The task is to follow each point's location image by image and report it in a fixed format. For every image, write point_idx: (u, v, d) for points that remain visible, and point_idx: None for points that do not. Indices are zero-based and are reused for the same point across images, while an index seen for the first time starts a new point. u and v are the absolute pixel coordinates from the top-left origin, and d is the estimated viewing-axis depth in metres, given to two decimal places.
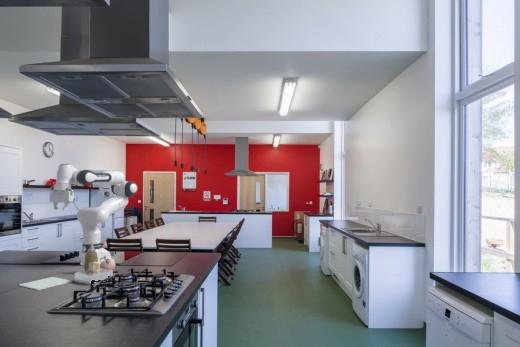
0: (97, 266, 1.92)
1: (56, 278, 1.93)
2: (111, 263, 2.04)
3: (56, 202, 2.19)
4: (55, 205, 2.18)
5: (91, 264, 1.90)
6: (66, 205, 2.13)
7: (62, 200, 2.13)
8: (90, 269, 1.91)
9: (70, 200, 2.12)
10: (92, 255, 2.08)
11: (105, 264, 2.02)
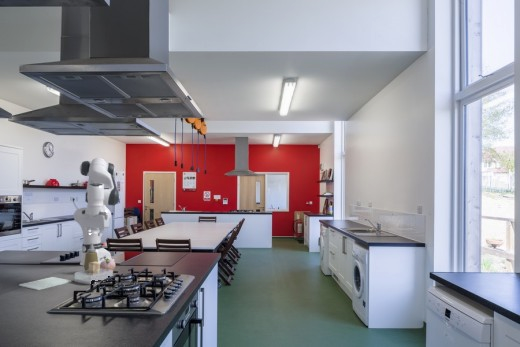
0: (97, 266, 1.92)
1: (56, 278, 1.93)
2: (111, 263, 2.04)
3: (89, 227, 1.96)
4: (88, 230, 1.95)
5: (91, 264, 1.90)
6: (101, 231, 1.90)
7: (96, 226, 1.90)
8: (90, 269, 1.91)
9: (106, 225, 1.88)
10: (92, 255, 2.08)
11: (105, 264, 2.02)
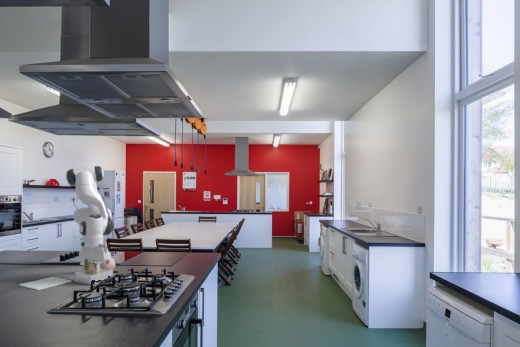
0: None
1: (56, 278, 1.93)
2: (111, 263, 2.04)
3: None
4: (90, 262, 1.94)
5: (91, 264, 1.90)
6: (98, 263, 1.90)
7: (96, 258, 1.89)
8: (90, 269, 1.91)
9: (105, 258, 1.87)
10: None
11: (105, 264, 2.02)
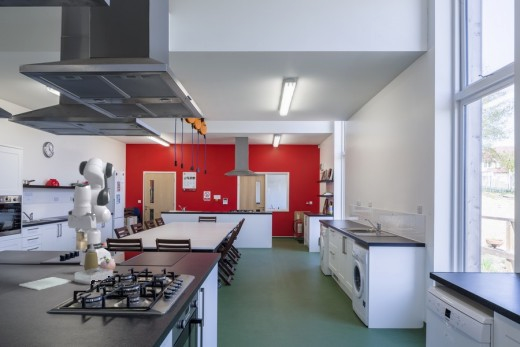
0: None
1: (56, 278, 1.93)
2: (111, 263, 2.04)
3: None
4: (77, 231, 1.92)
5: (78, 233, 1.89)
6: (86, 232, 1.89)
7: (83, 226, 1.88)
8: (77, 238, 1.89)
9: (93, 226, 1.86)
10: (92, 255, 2.08)
11: (105, 264, 2.02)
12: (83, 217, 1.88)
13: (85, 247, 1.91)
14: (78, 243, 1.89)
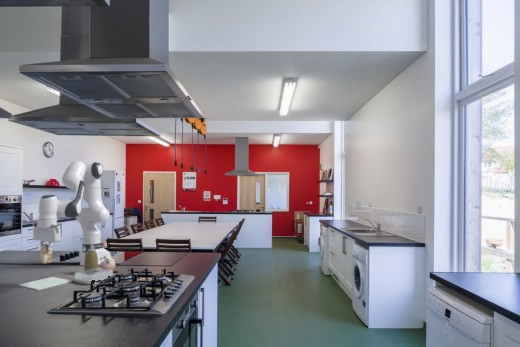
0: None
1: (56, 278, 1.93)
2: (111, 263, 2.04)
3: (43, 240, 1.87)
4: None
5: (43, 245, 1.84)
6: (51, 244, 1.84)
7: (48, 239, 1.82)
8: (42, 251, 1.84)
9: (57, 239, 1.81)
10: (92, 255, 2.08)
11: (105, 264, 2.02)
12: (47, 229, 1.83)
13: (49, 260, 1.85)
14: (42, 256, 1.83)
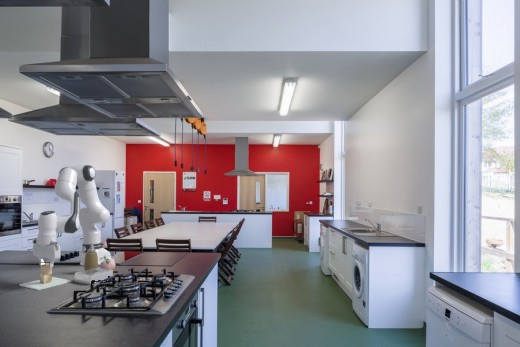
0: (49, 268, 1.85)
1: (56, 278, 1.93)
2: (111, 263, 2.04)
3: None
4: (41, 260, 1.87)
5: (42, 266, 1.83)
6: (52, 261, 1.83)
7: (47, 256, 1.82)
8: (41, 271, 1.84)
9: (56, 256, 1.81)
10: (92, 255, 2.08)
11: (105, 264, 2.02)
12: (47, 246, 1.83)
13: (49, 280, 1.85)
14: (42, 276, 1.83)
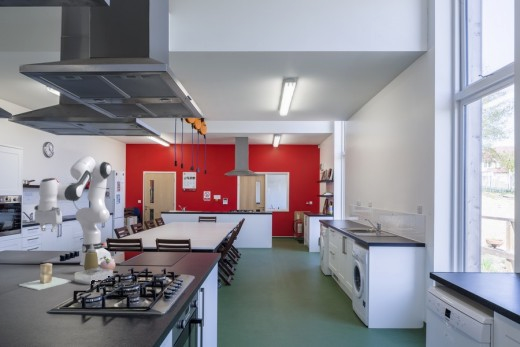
0: (49, 268, 1.85)
1: (56, 278, 1.93)
2: (111, 263, 2.04)
3: (43, 223, 1.92)
4: (42, 226, 1.92)
5: (42, 266, 1.83)
6: (54, 227, 1.87)
7: (49, 221, 1.86)
8: (41, 271, 1.84)
9: (58, 221, 1.85)
10: (92, 255, 2.08)
11: (105, 264, 2.02)
12: (49, 212, 1.87)
13: (49, 280, 1.85)
14: (42, 276, 1.83)
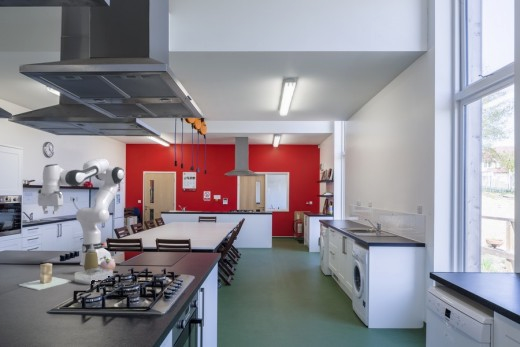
0: (49, 268, 1.85)
1: (56, 278, 1.93)
2: (111, 263, 2.04)
3: (45, 206, 2.05)
4: (44, 209, 2.05)
5: (42, 266, 1.83)
6: (56, 209, 2.00)
7: (51, 204, 1.99)
8: (41, 271, 1.84)
9: (59, 204, 1.98)
10: (92, 255, 2.08)
11: (105, 264, 2.02)
12: (51, 195, 2.00)
13: (49, 280, 1.85)
14: (42, 276, 1.83)
